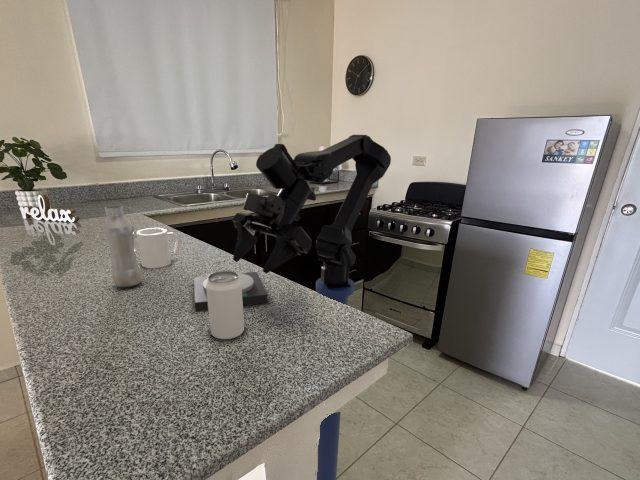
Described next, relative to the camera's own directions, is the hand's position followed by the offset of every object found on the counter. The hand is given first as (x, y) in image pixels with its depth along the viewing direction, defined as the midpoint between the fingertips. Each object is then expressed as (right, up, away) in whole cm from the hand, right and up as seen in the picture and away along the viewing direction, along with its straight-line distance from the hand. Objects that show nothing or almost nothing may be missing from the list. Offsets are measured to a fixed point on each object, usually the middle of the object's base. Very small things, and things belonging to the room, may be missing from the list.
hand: (249, 266), depth 69 cm
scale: (-8, -6, +17) cm, 20 cm away
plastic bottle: (-35, -4, +20) cm, 40 cm away
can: (-4, -13, 0) cm, 14 cm away
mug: (-33, +2, +36) cm, 49 cm away
